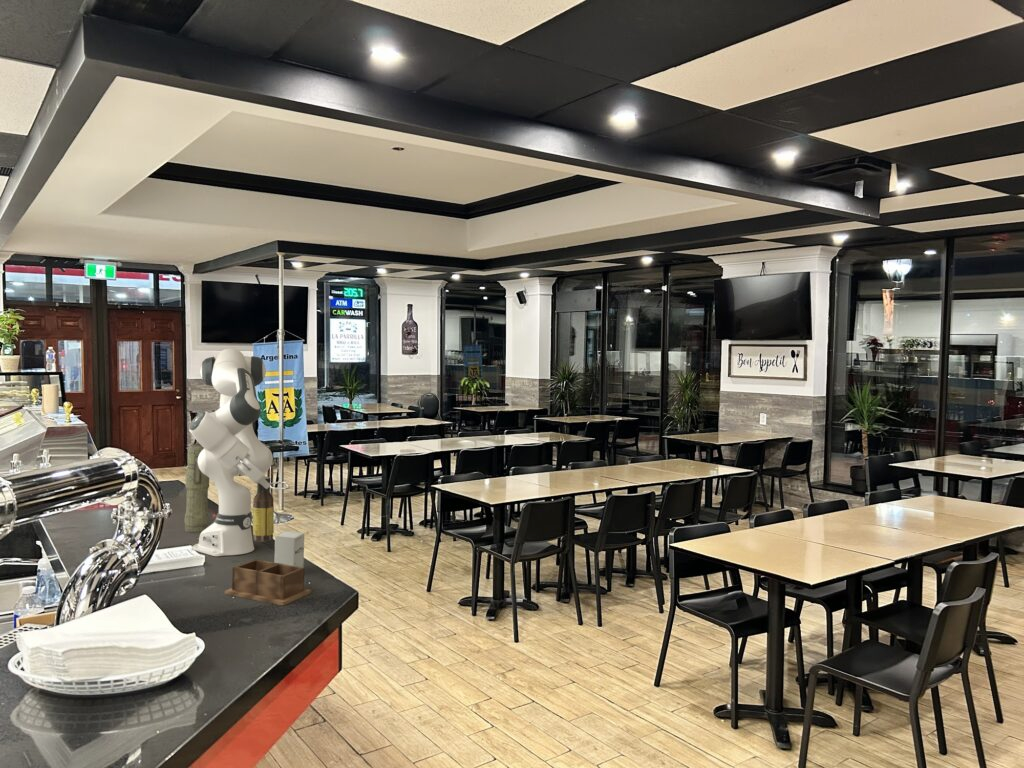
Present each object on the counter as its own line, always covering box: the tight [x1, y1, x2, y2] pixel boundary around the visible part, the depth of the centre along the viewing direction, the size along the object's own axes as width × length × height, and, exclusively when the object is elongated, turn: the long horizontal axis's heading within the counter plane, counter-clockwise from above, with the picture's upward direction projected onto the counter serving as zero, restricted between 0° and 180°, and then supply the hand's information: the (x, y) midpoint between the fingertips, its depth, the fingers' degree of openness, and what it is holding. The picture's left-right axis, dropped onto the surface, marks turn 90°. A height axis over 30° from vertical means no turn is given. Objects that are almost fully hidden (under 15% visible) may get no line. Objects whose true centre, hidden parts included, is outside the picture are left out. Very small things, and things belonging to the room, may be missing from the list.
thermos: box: [183, 442, 210, 534], centre depth 295 cm, size 9×12×35 cm
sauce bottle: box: [252, 476, 275, 543], centre depth 231 cm, size 6×6×20 cm
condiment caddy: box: [224, 558, 312, 607], centre depth 226 cm, size 22×13×8 cm, turn 68°
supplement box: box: [273, 531, 305, 568], centre depth 248 cm, size 7×7×13 cm
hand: (266, 485), depth 231 cm, fingers closed on sauce bottle, 4 cm apart
